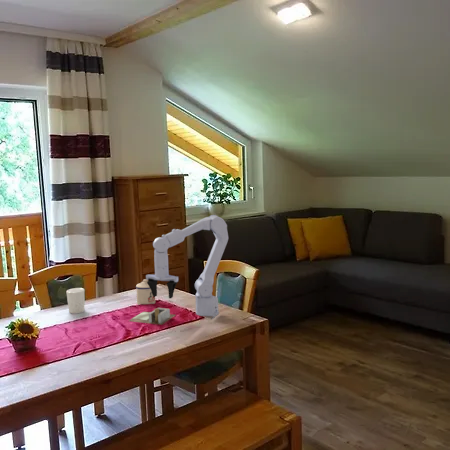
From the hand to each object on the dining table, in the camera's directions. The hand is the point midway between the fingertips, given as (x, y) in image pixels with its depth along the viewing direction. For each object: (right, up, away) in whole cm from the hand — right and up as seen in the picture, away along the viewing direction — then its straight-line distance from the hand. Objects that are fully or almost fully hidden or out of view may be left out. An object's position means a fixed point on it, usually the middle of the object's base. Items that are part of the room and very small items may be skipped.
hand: (162, 297), depth 210 cm
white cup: (-42, -9, +16) cm, 46 cm away
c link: (-1, -9, -2) cm, 10 cm away
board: (-5, -10, +1) cm, 11 cm away
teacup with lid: (-11, -7, +27) cm, 30 cm away
